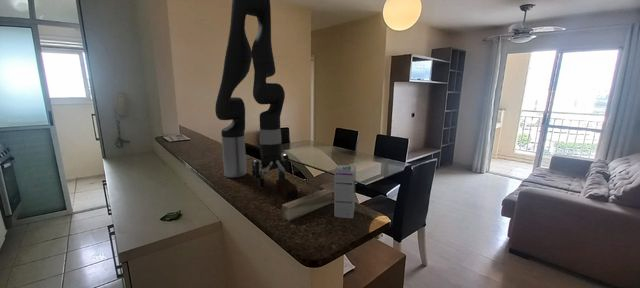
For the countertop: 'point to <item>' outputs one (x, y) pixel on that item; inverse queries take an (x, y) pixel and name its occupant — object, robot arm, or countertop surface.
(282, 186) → the brick
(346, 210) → the syrup box
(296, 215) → the fence board
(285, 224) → the countertop surface
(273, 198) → the countertop surface
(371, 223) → the countertop surface
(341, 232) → the countertop surface
